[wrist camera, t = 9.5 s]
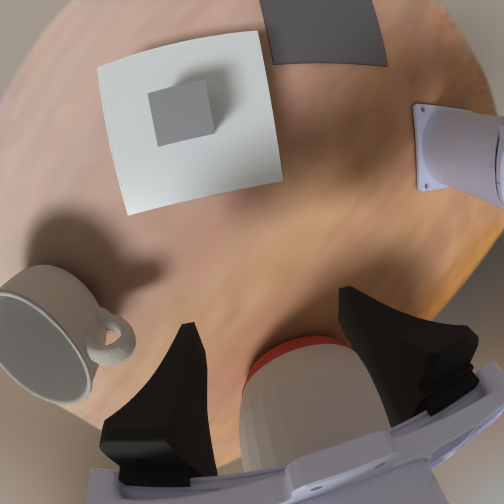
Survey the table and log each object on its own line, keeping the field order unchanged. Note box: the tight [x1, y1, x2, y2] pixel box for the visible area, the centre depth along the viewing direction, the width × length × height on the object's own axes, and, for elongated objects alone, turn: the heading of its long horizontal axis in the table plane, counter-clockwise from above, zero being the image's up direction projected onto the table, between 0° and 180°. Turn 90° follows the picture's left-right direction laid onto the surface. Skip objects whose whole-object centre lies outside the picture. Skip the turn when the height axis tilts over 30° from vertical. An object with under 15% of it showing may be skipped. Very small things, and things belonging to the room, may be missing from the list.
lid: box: [97, 31, 283, 215], centre depth 12 cm, size 9×9×4 cm
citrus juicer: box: [239, 335, 391, 472], centre depth 20 cm, size 16×17×20 cm
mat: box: [260, 0, 388, 67], centre depth 14 cm, size 10×10×1 cm
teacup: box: [0, 265, 136, 405], centre depth 18 cm, size 14×11×8 cm
